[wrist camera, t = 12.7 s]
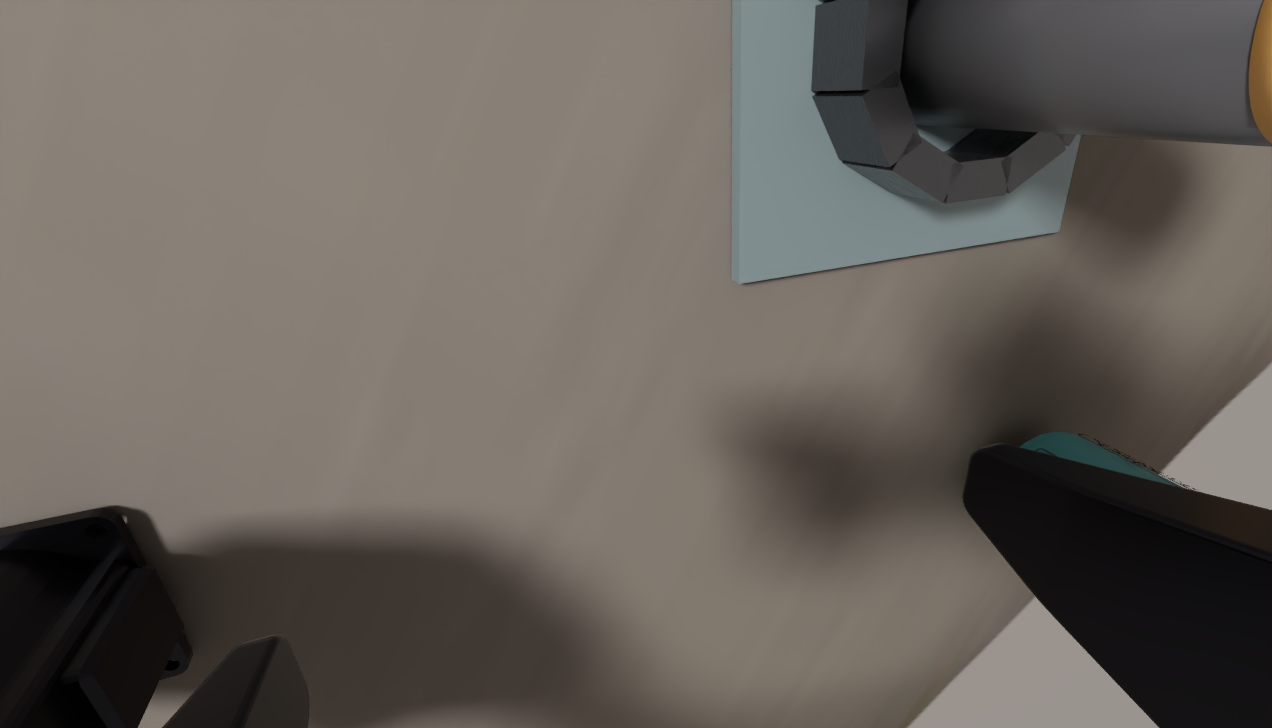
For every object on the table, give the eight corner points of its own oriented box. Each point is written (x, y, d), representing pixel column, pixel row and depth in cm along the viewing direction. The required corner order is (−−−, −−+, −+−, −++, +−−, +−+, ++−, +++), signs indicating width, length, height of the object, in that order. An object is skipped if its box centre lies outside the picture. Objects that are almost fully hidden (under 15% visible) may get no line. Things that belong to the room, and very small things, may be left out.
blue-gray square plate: (731, 279, 21) (739, 283, 21) (732, -256, 15) (743, -269, 15) (1045, 228, 25) (1058, 231, 24) (1145, -223, 19) (1166, -233, 18)
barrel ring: (805, 204, 20) (850, 217, 18) (823, -142, 16) (884, -180, 14) (1023, 175, 22) (1087, 183, 20) (1084, -135, 19) (1172, -165, 16)
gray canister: (846, 99, 19) (1466, 107, 8) (912, -84, 18) (1810, -407, 6) (959, 144, 21) (1583, 204, 10) (1028, -17, 20) (1866, -168, 8)
